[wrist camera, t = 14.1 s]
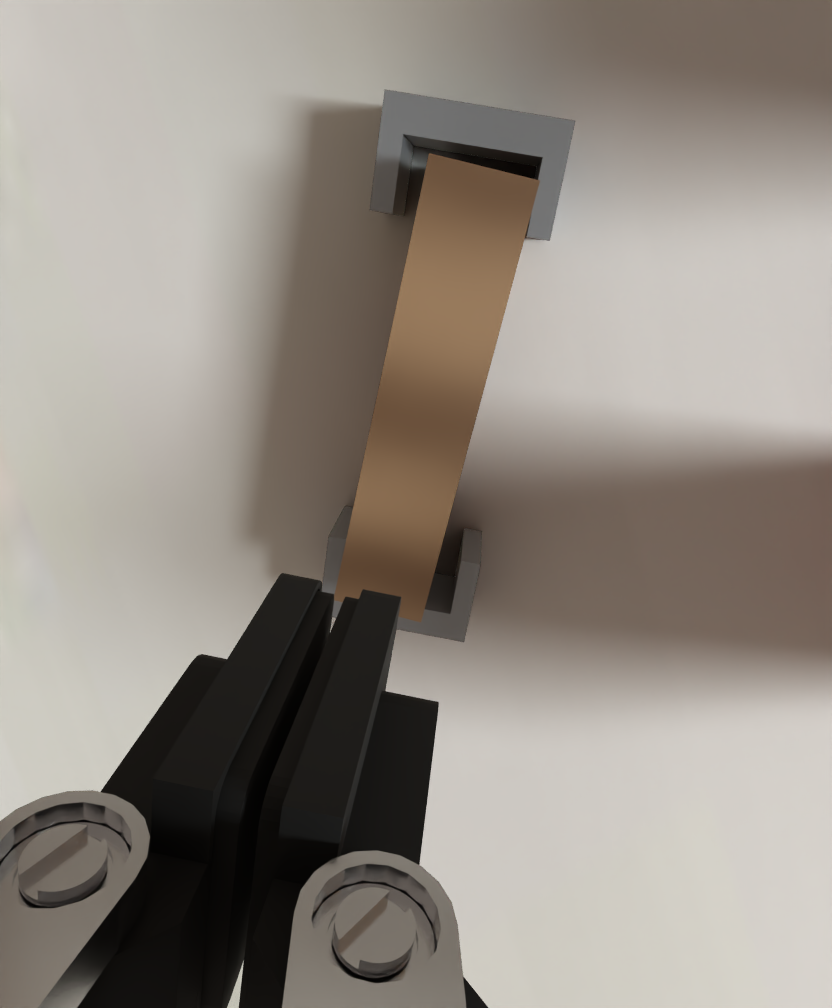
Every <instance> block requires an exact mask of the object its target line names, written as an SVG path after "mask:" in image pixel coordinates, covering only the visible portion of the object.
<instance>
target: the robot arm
mask: <svg viewBox="0 0 832 1008" xmlns="http://www.w3.org/2000/svg"><path fill="white" fill-rule="evenodd" d="M400 605H401V597H400V596H395V595H390V594H385V593H380V592H375V591H370V590H365V589H363V590H362V592H361V595H360V597H359V599H356V598H351V597H345V598H344V601H343V603H342V605H341V608H340V610H339V613H338V615H337V618H336V620H335V622H334V625H333V627H332V630H331V632H330V628H331V620H332V613H333V606H334V594H331V593H326V592H322V582H321V581H319V580H314V579H309V578H304V577H299V576H294V575H289V574H284V573H282V574H281V575H280V576H279V577H278V579H277V580H276V582H275V584H274V585H273V587H272V588H271V590H270V592H269V593H268V595H267V596H266V598H265V600H264V601H263V603H262V604H261V606H260V608H259V609H258V611H257V612H256V614H255V616H254V617H253V619H252V620H251V622H250V624H249V625H248V627H247V629H246V630H245V632H244V633H243V635H242V637H241V638H240V640H239V641H238V643H237V645H236V646H235V648H234V649H233V651H232V653H231V654H230V656H229V657H228V659H223V658H218V657H213V656H208V655H203V654H201V655H199V656H197V657H196V658H195V659H194V660H193V661H192V662H191V664H190V665H189V667H188V668H187V669H186V671H185V672H184V674H183V675H182V677H181V678H180V679H179V681H178V682H177V684H176V685H175V687H174V688H173V689H172V691H171V692H170V694H169V695H168V696H167V698H166V699H165V701H164V702H163V704H162V705H161V706H160V708H159V709H158V711H157V712H156V714H155V715H154V716H153V718H152V719H151V721H150V722H149V724H148V725H147V726H146V728H145V729H144V731H143V732H142V734H141V735H140V736H139V738H138V739H137V741H136V742H135V743H134V745H133V746H132V748H131V749H130V751H129V752H128V753H127V755H126V756H125V758H124V759H123V761H122V762H121V763H120V765H119V766H118V768H117V769H116V771H115V772H114V773H113V775H112V776H111V778H110V779H109V781H108V782H107V783H106V785H105V786H104V788H103V789H102V791H101V792H98V791H93V790H92V791H67V792H63V793H59V794H54V795H50V796H46V797H42V798H40V799H37V800H35V801H33V802H31V803H29V804H27V805H24V806H22V807H20V808H18V809H16V810H15V811H13V812H12V813H11V814H9V815H8V816H7V817H5V818H4V819H3V820H1V821H0V1008H227V1006H228V1003H229V1001H230V998H231V995H232V992H233V989H234V986H235V983H236V981H237V978H238V975H239V972H240V969H241V966H242V963H243V960H244V965H243V974H242V983H241V993H240V1002H239V1008H488V1007H487V1006H486V1004H485V1003H484V1002H483V1001H482V999H481V998H480V997H479V996H478V994H477V993H476V992H475V991H474V989H473V988H472V987H471V986H470V984H469V983H468V982H467V981H466V979H465V978H464V977H463V971H462V961H461V952H460V942H459V932H458V924H457V920H456V917H455V913H454V909H453V906H452V902H451V900H450V899H449V897H448V896H447V894H446V892H445V891H444V889H443V888H442V886H441V884H440V883H439V882H438V881H437V880H436V879H435V878H434V877H433V876H432V875H431V874H429V873H428V872H427V871H426V870H425V869H424V868H423V867H422V866H420V865H419V862H420V854H421V846H422V838H423V830H424V821H425V813H426V805H427V797H428V789H429V780H430V772H431V764H432V756H433V747H434V739H435V731H436V723H437V715H438V702H435V701H430V700H425V699H420V698H416V697H411V696H406V695H401V694H396V693H391V692H386V691H385V689H386V683H387V678H388V672H389V667H390V661H391V655H392V650H393V644H394V639H395V633H396V627H397V622H398V616H399V610H400Z"/></svg>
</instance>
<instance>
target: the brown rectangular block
mask: <svg viewBox="0 0 832 1008" xmlns="http://www.w3.org/2000/svg"><path fill="white" fill-rule="evenodd" d="M539 183H540V180H536V179H532V178H528V177H524V176H520V175H516V174H512V173H508V172H504V171H500V170H496V169H492V168H487V167H483V166H479V165H475V164H471V163H467V162H463V161H459V160H455V159H451V158H447V157H443V156H439V155H435V154H431V153H429V156H428V160H427V165H426V170H425V174H424V179H423V184H422V188H421V193H420V198H419V202H418V207H417V212H416V216H415V221H414V226H413V230H412V235H411V240H410V244H409V249H408V254H407V258H406V263H405V268H404V272H403V277H402V282H401V286H400V291H399V296H398V300H397V305H396V310H395V314H394V319H393V324H392V328H391V333H390V338H389V342H388V347H387V352H386V356H385V361H384V366H383V370H382V375H381V380H380V384H379V389H378V394H377V398H376V403H375V408H374V412H373V417H372V422H371V426H370V431H369V436H368V440H367V445H366V450H365V454H364V459H363V464H362V468H361V473H360V478H359V482H358V487H357V492H356V496H355V501H354V506H353V510H352V515H351V520H350V524H349V529H348V534H347V538H346V543H345V548H344V552H343V557H342V562H341V566H340V571H339V576H338V580H337V585H336V590H335V594H334V600H335V601H339V602H343V601H344V598H345V597H351V598H356V599H359V597H360V595H361V592H362V590H363V589H365V590H370V591H375V592H380V593H385V594H390V595H395V596H400V597H401V605H400V610H399V616H398V617H402V618H405V619H409V620H413V621H417V622H421V620H422V617H423V613H424V609H425V606H426V602H427V598H428V595H429V591H430V587H431V583H432V580H433V576H434V572H435V569H436V565H437V561H438V557H439V554H440V550H441V546H442V543H443V539H444V535H445V531H446V528H447V524H448V520H449V517H450V513H451V509H452V505H453V502H454V498H455V494H456V491H457V487H458V483H459V480H460V476H461V472H462V468H463V465H464V461H465V457H466V454H467V450H468V446H469V442H470V439H471V435H472V431H473V428H474V424H475V420H476V416H477V413H478V409H479V405H480V402H481V398H482V394H483V390H484V387H485V383H486V379H487V376H488V372H489V368H490V365H491V361H492V357H493V353H494V350H495V346H496V342H497V339H498V335H499V331H500V327H501V324H502V320H503V316H504V313H505V309H506V305H507V301H508V298H509V294H510V290H511V287H512V283H513V279H514V275H515V272H516V268H517V264H518V261H519V257H520V253H521V250H522V246H523V242H524V238H525V235H526V231H527V227H528V224H529V220H530V216H531V212H532V209H533V205H534V201H535V198H536V194H537V190H538V186H539Z"/></svg>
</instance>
